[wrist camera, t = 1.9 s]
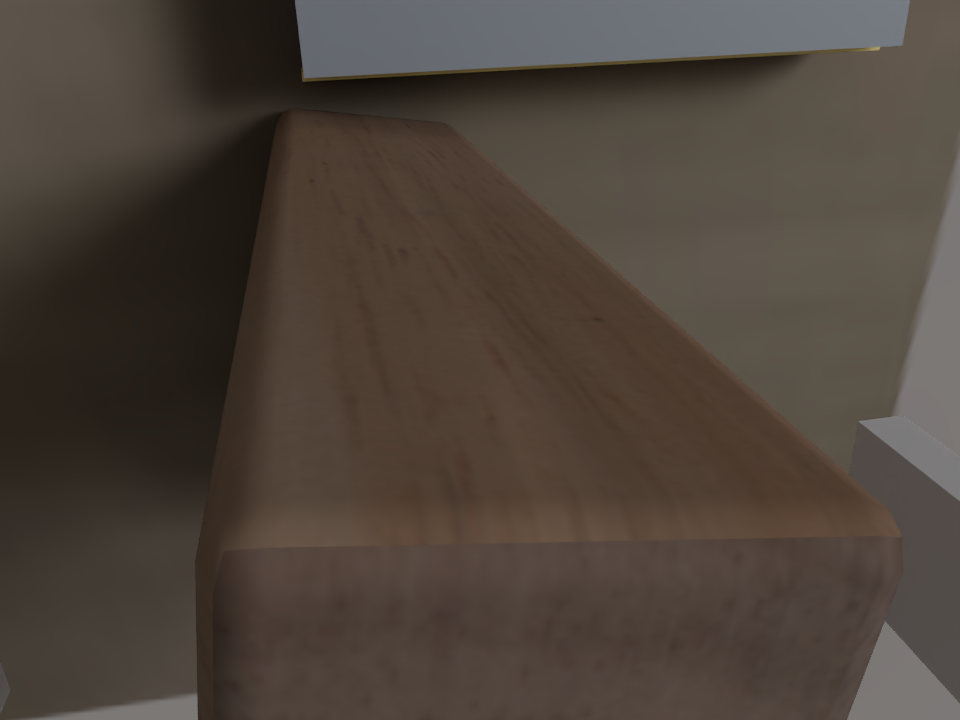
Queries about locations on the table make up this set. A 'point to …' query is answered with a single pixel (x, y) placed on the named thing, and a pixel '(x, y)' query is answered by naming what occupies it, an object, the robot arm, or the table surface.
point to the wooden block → (503, 473)
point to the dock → (576, 33)
